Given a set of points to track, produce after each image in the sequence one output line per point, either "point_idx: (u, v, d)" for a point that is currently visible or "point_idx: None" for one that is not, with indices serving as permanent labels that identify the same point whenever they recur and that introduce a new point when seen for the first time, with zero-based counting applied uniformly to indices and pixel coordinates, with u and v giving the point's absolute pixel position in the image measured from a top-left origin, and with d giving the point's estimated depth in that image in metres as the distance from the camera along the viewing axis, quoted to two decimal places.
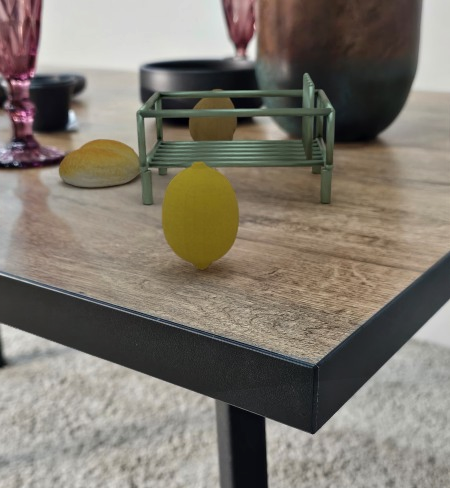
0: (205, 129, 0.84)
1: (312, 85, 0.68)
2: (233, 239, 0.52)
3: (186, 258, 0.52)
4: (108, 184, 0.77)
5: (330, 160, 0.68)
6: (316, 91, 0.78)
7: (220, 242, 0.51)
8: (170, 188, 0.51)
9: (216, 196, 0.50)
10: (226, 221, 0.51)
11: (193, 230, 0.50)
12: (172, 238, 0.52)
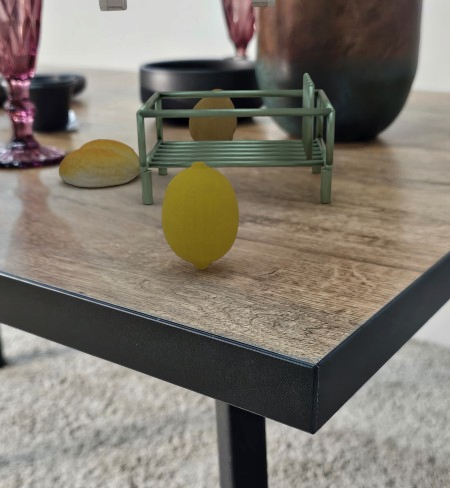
0: (205, 129, 0.84)
1: (312, 85, 0.68)
2: (233, 239, 0.52)
3: (186, 258, 0.52)
4: (108, 184, 0.77)
5: (330, 160, 0.68)
6: (316, 91, 0.78)
7: (220, 242, 0.51)
8: (170, 188, 0.51)
9: (216, 196, 0.50)
10: (226, 221, 0.51)
11: (193, 230, 0.50)
12: (172, 238, 0.52)
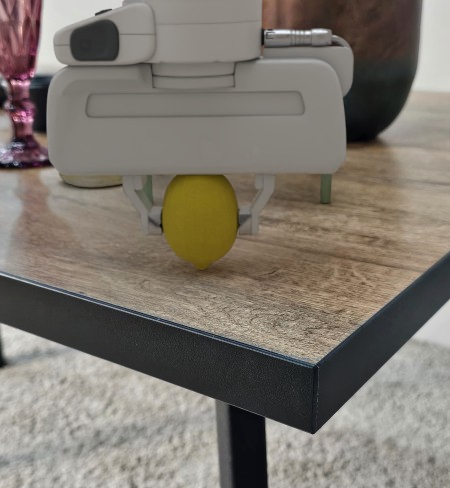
0: None
1: None
2: (233, 239, 0.52)
3: (186, 258, 0.52)
4: (108, 184, 0.77)
5: None
6: None
7: (220, 242, 0.51)
8: (170, 188, 0.51)
9: (216, 196, 0.50)
10: (226, 221, 0.51)
11: (193, 230, 0.50)
12: (172, 238, 0.52)
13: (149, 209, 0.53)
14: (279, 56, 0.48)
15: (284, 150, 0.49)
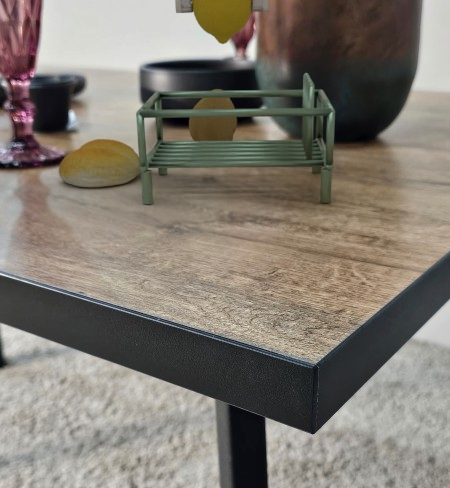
0: (205, 129, 0.84)
1: (312, 85, 0.68)
2: (248, 13, 0.66)
3: (211, 28, 0.66)
4: (108, 184, 0.77)
5: (330, 160, 0.68)
6: (316, 91, 0.78)
7: (238, 12, 0.65)
8: None
9: None
10: None
11: None
12: (200, 10, 0.65)
13: None
14: None
15: None
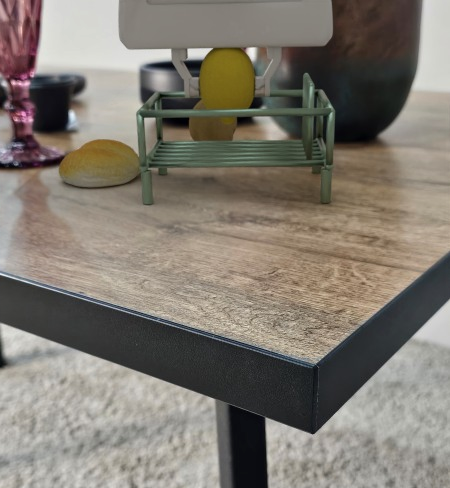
0: (205, 129, 0.84)
1: (312, 85, 0.68)
2: (251, 98, 0.72)
3: None
4: (108, 184, 0.77)
5: (330, 160, 0.68)
6: (316, 91, 0.78)
7: (242, 98, 0.71)
8: (206, 59, 0.71)
9: (239, 63, 0.70)
10: (246, 82, 0.70)
11: (222, 88, 0.70)
12: (207, 96, 0.71)
13: (190, 77, 0.72)
14: None
15: (288, 27, 0.69)
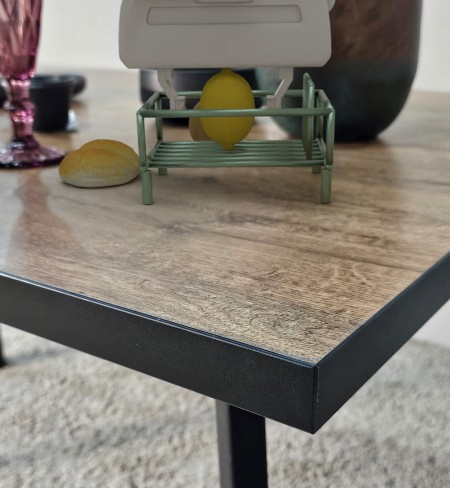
0: None
1: (312, 85, 0.68)
2: (251, 125, 0.73)
3: (217, 139, 0.73)
4: (108, 184, 0.77)
5: (330, 160, 0.68)
6: (316, 91, 0.78)
7: (241, 126, 0.72)
8: (206, 86, 0.72)
9: (239, 91, 0.71)
10: None
11: None
12: (207, 123, 0.72)
13: (176, 96, 0.73)
14: None
15: (287, 48, 0.69)
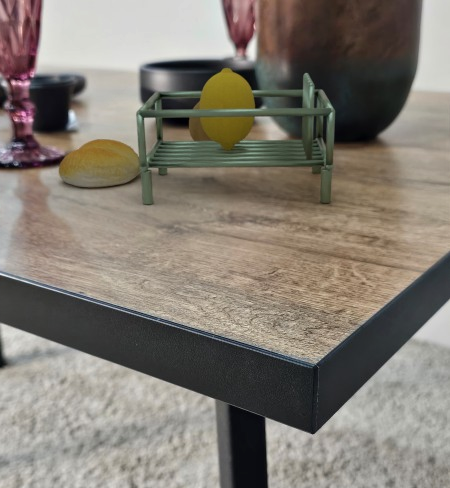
0: None
1: (312, 85, 0.68)
2: (251, 125, 0.73)
3: (217, 139, 0.73)
4: (108, 184, 0.77)
5: (330, 160, 0.68)
6: (316, 91, 0.78)
7: (241, 126, 0.72)
8: (206, 86, 0.72)
9: (239, 91, 0.71)
10: None
11: None
12: (207, 123, 0.72)
13: None
14: None
15: None
